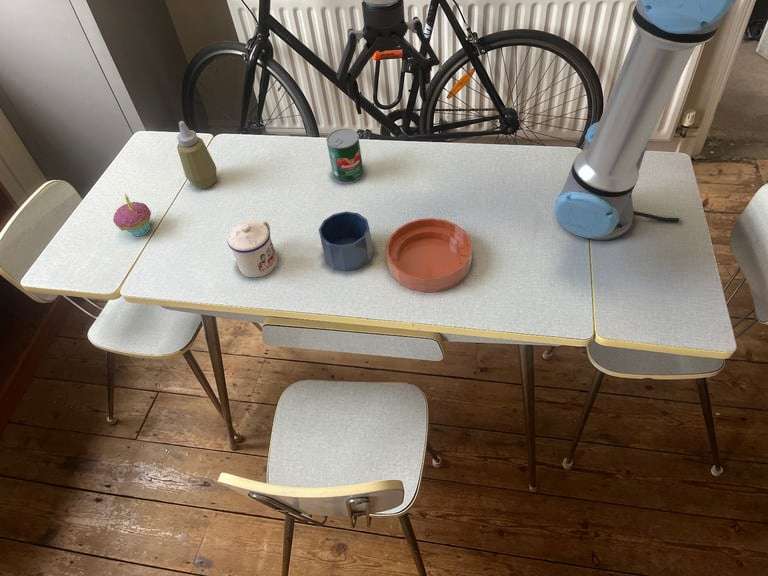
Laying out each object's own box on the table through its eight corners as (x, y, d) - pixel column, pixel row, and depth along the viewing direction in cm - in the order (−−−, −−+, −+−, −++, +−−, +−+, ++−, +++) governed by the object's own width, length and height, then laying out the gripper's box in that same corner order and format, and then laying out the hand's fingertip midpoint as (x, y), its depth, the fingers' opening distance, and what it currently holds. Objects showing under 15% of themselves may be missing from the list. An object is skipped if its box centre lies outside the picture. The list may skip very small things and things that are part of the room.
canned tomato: (345, 160, 152) (339, 124, 143) (369, 170, 148) (365, 133, 140) (326, 177, 148) (319, 141, 139) (351, 187, 144) (345, 151, 136)
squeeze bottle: (226, 177, 151) (205, 117, 137) (205, 195, 147) (181, 135, 133) (204, 169, 154) (181, 109, 141) (183, 186, 150) (157, 127, 137)
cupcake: (164, 222, 141) (145, 184, 132) (142, 246, 137) (120, 207, 128) (137, 214, 144) (116, 176, 135) (114, 237, 139) (91, 199, 130)
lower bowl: (478, 240, 129) (479, 225, 125) (460, 300, 118) (461, 286, 115) (401, 227, 133) (400, 213, 130) (377, 284, 123) (375, 270, 119)
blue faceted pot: (378, 241, 131) (375, 215, 125) (363, 275, 125) (359, 250, 119) (335, 234, 134) (329, 208, 128) (318, 267, 127) (311, 241, 121)
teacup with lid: (268, 282, 126) (254, 244, 117) (231, 275, 128) (215, 237, 119) (290, 244, 133) (279, 206, 124) (255, 237, 135) (241, 199, 126)
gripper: (444, -22, 106) (444, 84, 122) (310, 2, 104) (328, 106, 120) (456, -6, 101) (454, 102, 117) (316, 19, 99) (334, 126, 115)
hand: (391, 104), depth 119 cm, fingers open, 13 cm apart
